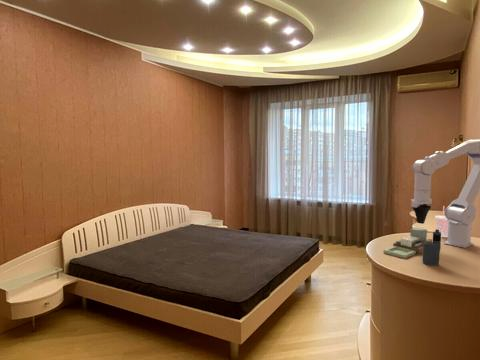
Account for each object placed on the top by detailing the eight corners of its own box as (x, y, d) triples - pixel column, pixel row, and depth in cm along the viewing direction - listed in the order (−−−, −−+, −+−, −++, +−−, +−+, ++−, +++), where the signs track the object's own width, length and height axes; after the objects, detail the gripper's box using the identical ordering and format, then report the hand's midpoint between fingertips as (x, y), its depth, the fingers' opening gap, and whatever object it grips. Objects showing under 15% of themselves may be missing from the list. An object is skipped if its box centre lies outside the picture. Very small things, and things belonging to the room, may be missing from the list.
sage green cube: (414, 239, 134) (415, 227, 134) (426, 241, 131) (426, 229, 131) (410, 241, 132) (410, 228, 131) (421, 243, 128) (422, 231, 128)
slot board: (409, 241, 138) (410, 235, 137) (434, 247, 130) (434, 239, 130) (393, 248, 129) (393, 240, 128) (418, 254, 121) (418, 246, 121)
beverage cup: (445, 238, 143) (447, 207, 141) (431, 235, 148) (433, 205, 147) (452, 237, 146) (454, 206, 144) (438, 234, 151) (440, 204, 150)
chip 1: (405, 243, 129) (405, 236, 129) (416, 245, 126) (416, 239, 126) (400, 244, 126) (401, 238, 126) (411, 247, 123) (411, 240, 123)
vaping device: (440, 265, 109) (442, 230, 108) (423, 264, 110) (425, 230, 109) (437, 263, 112) (439, 229, 110) (421, 262, 113) (423, 228, 112)
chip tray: (394, 248, 128) (394, 245, 128) (415, 253, 122) (416, 250, 121) (383, 253, 122) (383, 249, 122) (405, 258, 116) (405, 255, 116)
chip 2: (410, 241, 132) (410, 235, 131) (420, 243, 128) (421, 237, 128) (405, 242, 129) (406, 236, 129) (416, 245, 126) (416, 238, 126)
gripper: (419, 187, 138) (418, 219, 139) (403, 190, 129) (402, 223, 130) (437, 189, 132) (436, 221, 134) (422, 191, 123) (420, 227, 125)
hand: (420, 223), depth 131 cm, fingers closed
